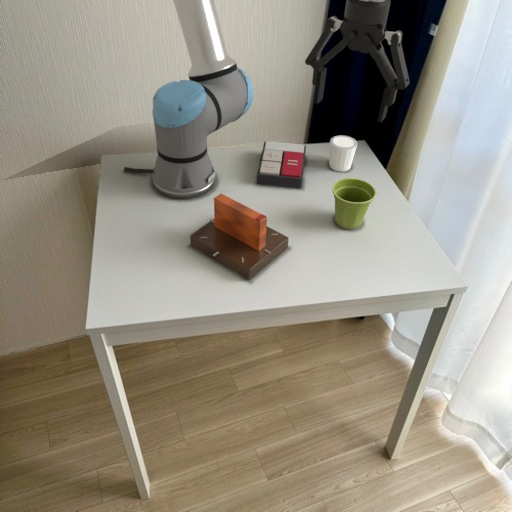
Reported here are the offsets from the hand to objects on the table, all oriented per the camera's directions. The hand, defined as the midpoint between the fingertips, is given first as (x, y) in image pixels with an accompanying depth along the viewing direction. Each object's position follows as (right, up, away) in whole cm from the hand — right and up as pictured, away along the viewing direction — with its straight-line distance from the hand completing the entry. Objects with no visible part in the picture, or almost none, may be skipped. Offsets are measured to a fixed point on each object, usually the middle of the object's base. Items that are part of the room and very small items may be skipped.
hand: (349, 110), depth 104 cm
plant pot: (+2, -21, +15) cm, 26 cm away
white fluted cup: (+3, -6, +32) cm, 33 cm away
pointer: (-22, -25, +5) cm, 34 cm away
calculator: (-12, -7, +29) cm, 33 cm away
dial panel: (-22, -27, +7) cm, 36 cm away
